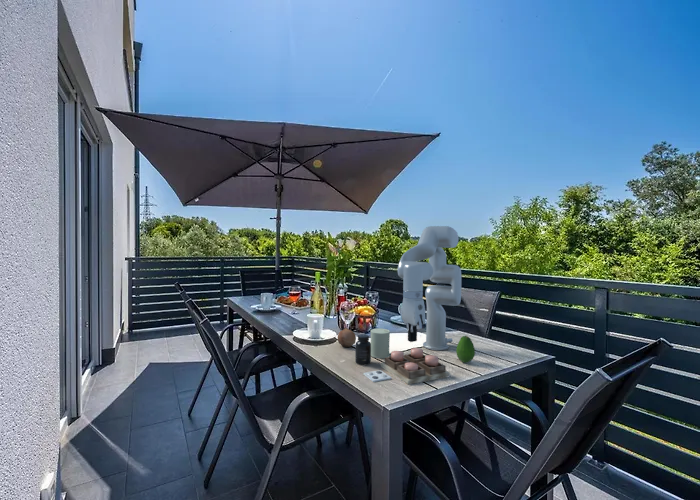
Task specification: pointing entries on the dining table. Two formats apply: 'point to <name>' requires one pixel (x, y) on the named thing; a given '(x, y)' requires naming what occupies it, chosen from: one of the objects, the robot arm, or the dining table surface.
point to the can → (380, 343)
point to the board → (415, 376)
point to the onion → (346, 338)
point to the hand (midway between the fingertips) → (412, 340)
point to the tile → (377, 375)
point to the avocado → (465, 349)
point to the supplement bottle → (363, 350)
